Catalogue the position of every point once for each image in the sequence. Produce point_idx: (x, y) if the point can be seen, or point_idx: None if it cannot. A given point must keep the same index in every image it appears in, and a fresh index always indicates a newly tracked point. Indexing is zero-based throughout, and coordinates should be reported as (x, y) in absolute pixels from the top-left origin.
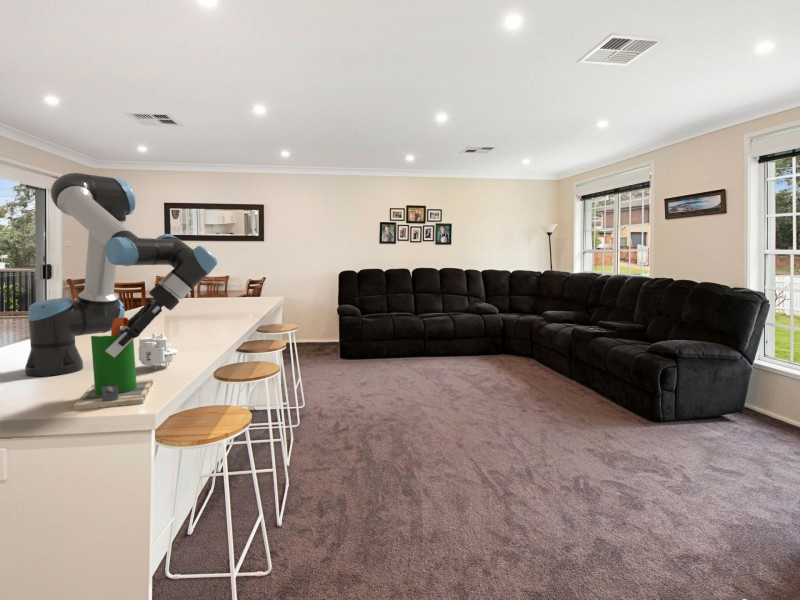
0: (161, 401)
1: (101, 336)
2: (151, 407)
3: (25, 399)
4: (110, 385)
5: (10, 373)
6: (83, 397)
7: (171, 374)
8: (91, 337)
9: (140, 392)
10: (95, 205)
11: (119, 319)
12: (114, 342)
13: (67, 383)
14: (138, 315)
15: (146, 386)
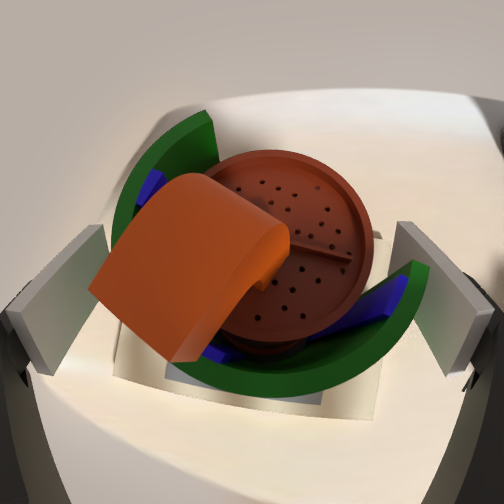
0: (114, 420)
1: (139, 164)
2: (75, 386)
3: (323, 113)
4: None
5: None
6: None
7: (438, 458)
8: (201, 117)
9: (181, 378)
10: None
11: (130, 239)
12: (56, 256)
13: (446, 182)
14: (453, 490)
15: (263, 402)
